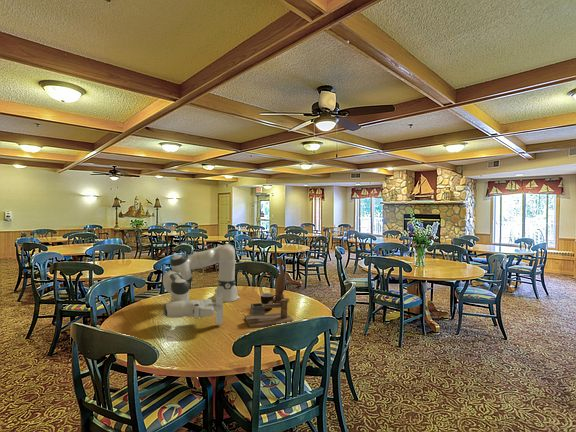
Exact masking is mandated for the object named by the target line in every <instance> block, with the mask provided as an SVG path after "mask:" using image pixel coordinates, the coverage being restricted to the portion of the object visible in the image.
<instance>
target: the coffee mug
mask: <svg viewBox="0 0 576 432" xmlns="http://www.w3.org/2000/svg"><path fill="white" fill-rule="evenodd" d="M275 296H276V295H275V293H274V294H273V293H270V292H269V293H268V292H264V293H261V294H260V303H262V304H273V303H274V302H275V301H276V299H277V296H276V299H275V301H274V302H273V298H274V297H275ZM270 310H272V311H273V308H266V309H265V311H270ZM270 312H271V311H270Z"/></svg>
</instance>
